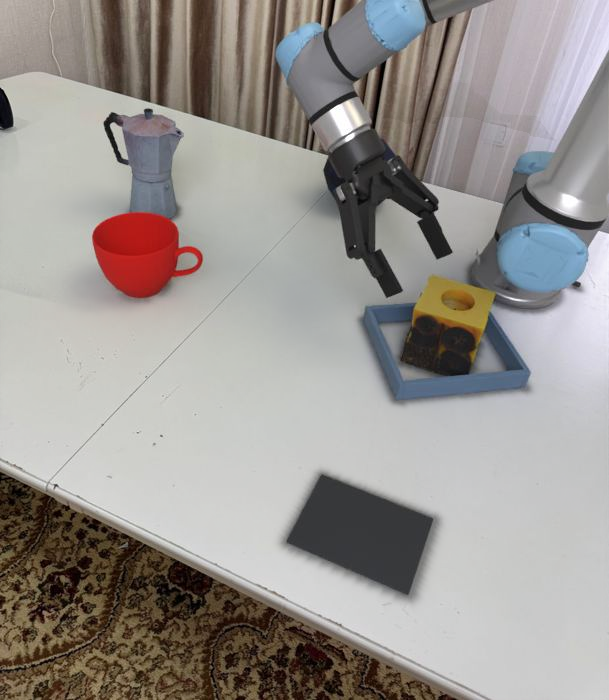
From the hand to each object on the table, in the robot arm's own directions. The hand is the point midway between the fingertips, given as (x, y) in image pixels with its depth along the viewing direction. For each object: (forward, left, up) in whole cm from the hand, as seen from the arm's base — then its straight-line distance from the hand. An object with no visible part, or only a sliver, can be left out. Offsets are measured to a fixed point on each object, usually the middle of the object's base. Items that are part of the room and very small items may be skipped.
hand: (421, 274), depth 89 cm
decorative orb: (-3, -41, -12) cm, 43 cm away
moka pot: (+38, -41, -12) cm, 58 cm away
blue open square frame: (-4, +5, -11) cm, 13 cm away
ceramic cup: (+38, -16, -12) cm, 43 cm away
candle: (-4, +5, -12) cm, 13 cm away
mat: (+16, +33, -11) cm, 38 cm away
